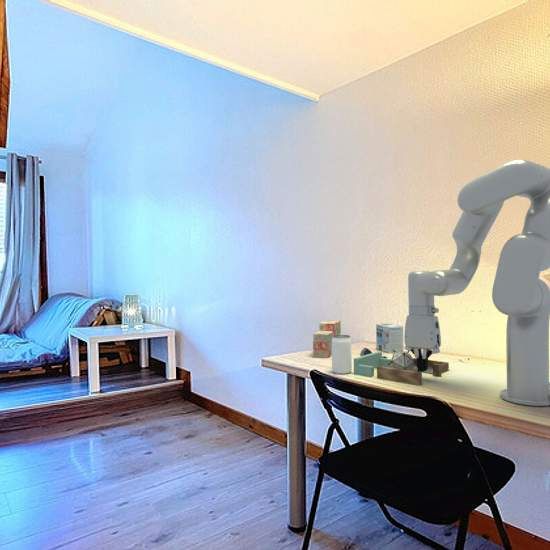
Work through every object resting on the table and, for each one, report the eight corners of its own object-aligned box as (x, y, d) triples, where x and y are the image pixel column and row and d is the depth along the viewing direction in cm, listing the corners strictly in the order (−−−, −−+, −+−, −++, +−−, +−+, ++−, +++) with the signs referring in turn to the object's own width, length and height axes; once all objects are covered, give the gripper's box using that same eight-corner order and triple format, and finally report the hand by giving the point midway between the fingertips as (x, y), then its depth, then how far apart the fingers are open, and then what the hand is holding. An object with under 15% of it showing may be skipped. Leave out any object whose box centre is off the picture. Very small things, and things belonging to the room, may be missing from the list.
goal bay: (395, 368, 152) (395, 353, 152) (371, 376, 140) (371, 361, 140) (378, 365, 156) (378, 351, 156) (353, 373, 145) (353, 358, 145)
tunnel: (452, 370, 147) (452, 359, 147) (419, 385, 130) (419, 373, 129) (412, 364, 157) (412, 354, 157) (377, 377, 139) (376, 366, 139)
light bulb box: (375, 349, 187) (375, 323, 187) (389, 348, 189) (389, 322, 189) (389, 353, 177) (389, 326, 177) (404, 352, 179) (404, 325, 179)
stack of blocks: (328, 358, 171) (328, 326, 170) (313, 357, 173) (312, 325, 173) (341, 348, 191) (340, 320, 190) (326, 348, 193) (326, 319, 193)
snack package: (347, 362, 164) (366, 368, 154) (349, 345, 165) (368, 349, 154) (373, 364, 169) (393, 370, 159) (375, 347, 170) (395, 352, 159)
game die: (405, 385, 143) (419, 358, 146) (411, 382, 135) (425, 354, 138) (380, 370, 146) (394, 344, 148) (384, 367, 138) (399, 339, 140)
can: (336, 375, 144) (336, 337, 144) (329, 370, 150) (328, 335, 150) (355, 373, 146) (354, 336, 145) (346, 369, 152) (346, 334, 152)
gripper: (450, 311, 134) (451, 372, 134) (404, 309, 145) (405, 365, 145) (440, 313, 129) (441, 376, 129) (393, 311, 139) (394, 369, 139)
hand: (422, 370), depth 137 cm, fingers closed
